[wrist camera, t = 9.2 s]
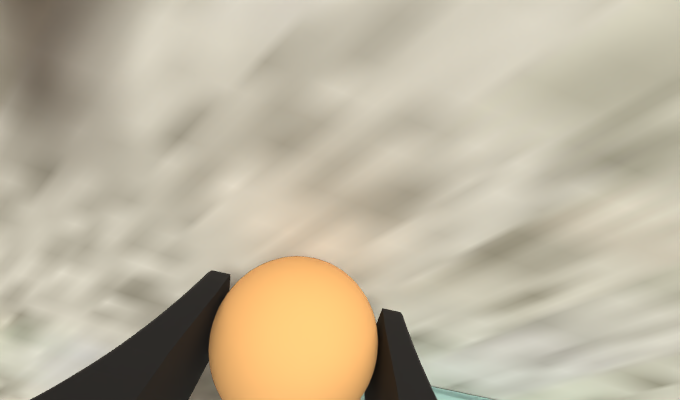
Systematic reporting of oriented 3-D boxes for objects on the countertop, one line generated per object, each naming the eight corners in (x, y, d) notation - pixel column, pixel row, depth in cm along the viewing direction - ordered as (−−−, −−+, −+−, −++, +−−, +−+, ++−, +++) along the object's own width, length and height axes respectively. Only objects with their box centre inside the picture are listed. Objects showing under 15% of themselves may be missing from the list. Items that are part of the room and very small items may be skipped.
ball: (395, 244, 12) (404, 386, 8) (360, 340, 14) (352, 489, 10) (247, 210, 12) (170, 336, 7) (238, 314, 14) (177, 452, 10)
